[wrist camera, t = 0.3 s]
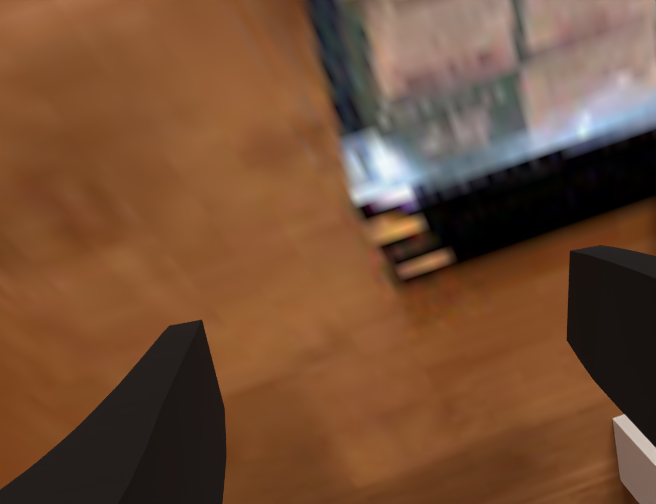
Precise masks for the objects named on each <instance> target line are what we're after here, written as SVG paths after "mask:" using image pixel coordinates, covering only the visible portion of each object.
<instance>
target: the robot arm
mask: <svg viewBox="0 0 656 504" xmlns="http://www.w3.org/2000/svg"><path fill="white" fill-rule="evenodd" d="M567 341H568V343H569V344H570V346H571V347H572V349H573V351H574V352H575V354H576V355H577V357H578V358H579V360H580V361H581V363H582V364H583V366H584V367H585V369H586V370H587V371H588V373H589V374H590V376H591V377H592V378H593V380H594V381H595V382H596V383H597V384H598V385H599V387H600V388H601V389H602V390H603V391H604V392H605V393H606V394H607V396H608V397H609V398H610V399H611V400H612V401H613V402H614V403H615V404H616V406H617V407H618V408H619V409H620V410H621V411H622V412H623V413H624V414H625V415H626V416H627V417H628V419H629V420H630V421H631V422H632V423H633V424H634V425H635V426H636V427H637V428H638V429H639V430H640V431H641V433H642V434H643V435H644V436H645V437H646V438H647V439H648V440H649V441H650V442H651V443H652V444H653V446H654V447H655V448H656V256H652V255H648V254H644V253H640V252H635V251H631V250H626V249H621V248H616V247H610V246H601V245H599V246H594V247H588V248H583V249H578V250H572V251H570V264H569V291H568V319H567ZM225 468H226V429H225V408H224V404H223V401H222V397H221V393H220V389H219V385H218V381H217V377H216V373H215V369H214V365H213V361H212V357H211V353H210V349H209V345H208V342H207V338H206V334H205V330H204V326H203V322H202V320H198V321H193V322H187V323H182V324H177V325H171V326H169V327H168V328H167V329H166V330H165V331H164V332H163V333H162V334H161V336H160V337H159V338H158V339H157V340H156V341H155V343H154V344H153V345H152V346H151V347H150V349H149V350H148V351H147V352H146V353H145V355H144V356H143V357H142V358H141V359H140V361H139V362H138V363H137V364H136V365H135V366H134V367H133V369H132V370H131V371H130V372H129V373H128V374H127V376H126V377H125V378H124V379H123V380H122V381H121V383H120V384H119V385H118V386H117V387H116V388H115V389H114V390H113V391H112V392H111V393H110V394H109V395H108V396H107V397H106V398H105V399H104V400H103V401H102V402H101V403H100V404H99V405H98V407H97V408H96V409H95V410H94V411H93V412H92V413H91V414H90V415H89V416H88V417H87V418H86V419H85V420H84V421H83V422H82V423H81V424H80V425H79V426H78V427H77V428H76V429H75V430H73V431H72V432H71V433H70V434H69V435H68V436H67V437H66V438H65V439H64V440H62V441H61V442H60V443H59V444H58V445H57V446H55V447H54V448H53V449H52V450H51V451H50V452H48V453H47V454H46V455H45V456H44V457H42V458H41V459H40V460H39V461H38V462H37V463H35V464H34V465H33V466H32V467H30V468H29V469H28V470H26V471H25V472H24V473H22V474H21V475H20V476H18V477H17V478H16V479H14V480H13V481H12V482H10V483H9V484H8V485H6V486H5V487H3V488H2V489H1V490H0V504H222V502H223V491H224V479H225Z"/></svg>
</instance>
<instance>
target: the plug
mask: <svg viewBox="0 0 656 504" xmlns="http://www.w3.org/2000/svg"><path fill="white" fill-rule="evenodd" d="M613 426H614V434H615V442H616V450H617V458H618V466H619V474H620V480H621V482H622V483H623V484H624V485H625V486H626V488H627V489H628V490H629V491H630V493H631V494H632V495H633V496H634V498H635V499H636V500H637V501H638V503H639V504H656V448H655V447H654V446H653V444H652V443H651V442H650V441H649V440H648V439H647V438H646V437H645V436H644V435H643V434H642V433H641V431H640V430H639V429H638V428H637V427H636V426H635V425H634V424H633V423H632V422H631V421H630V420H629V419H628V417H627V416H626V415H625V414H624V415H621V416H618V417H615V418H613Z"/></svg>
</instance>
